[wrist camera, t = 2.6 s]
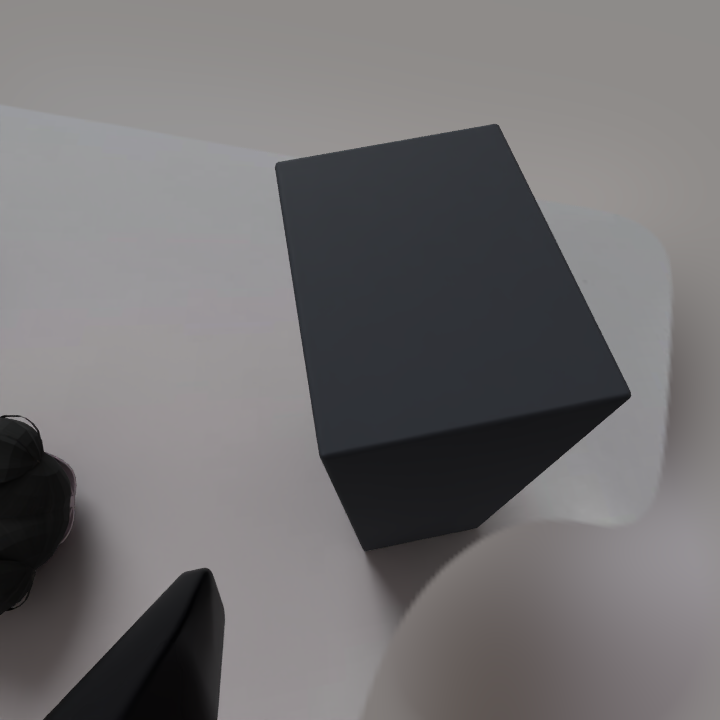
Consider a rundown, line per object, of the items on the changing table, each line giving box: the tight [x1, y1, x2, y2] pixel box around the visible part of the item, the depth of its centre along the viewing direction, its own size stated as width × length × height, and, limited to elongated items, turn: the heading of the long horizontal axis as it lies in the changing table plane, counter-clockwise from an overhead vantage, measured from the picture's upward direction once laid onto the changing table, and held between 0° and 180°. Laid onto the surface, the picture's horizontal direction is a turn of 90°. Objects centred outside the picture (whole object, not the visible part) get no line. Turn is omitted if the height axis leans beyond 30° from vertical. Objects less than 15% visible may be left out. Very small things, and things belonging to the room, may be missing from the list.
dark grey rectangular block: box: [275, 124, 631, 551], centre depth 14 cm, size 6×4×13 cm
